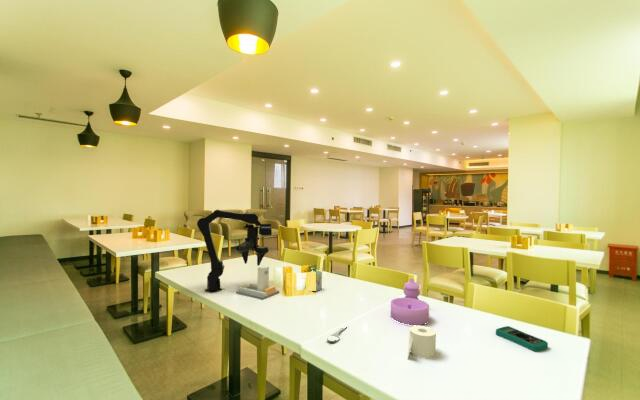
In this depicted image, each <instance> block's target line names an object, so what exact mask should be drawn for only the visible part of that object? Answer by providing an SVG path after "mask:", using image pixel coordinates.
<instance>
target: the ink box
mask: <svg viewBox="0 0 640 400" xmlns="http://www.w3.org/2000/svg"><path fill="white" fill-rule="evenodd" d="M312 270H313V271H315V272H316V292H319V291H320V290H321V291H322V289H323V285H322V284H323V271H320V270H317V264H313V265H312V264H311V265H310V266H308V273H309V272H310V271H312ZM318 290H319V291H318Z"/></svg>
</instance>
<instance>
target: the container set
mask: <svg viewBox="0 0 640 400" xmlns="http://www.w3.org/2000/svg"><path fill="white" fill-rule="evenodd" d="M403 286H404V288H403V294H404V295H405V297H396V298H393V299H392V300H390V318H391V317H392V318H393V319H394V320H396V321H398V322H400V323H404V324H409V325H422V324H425V323H427V322H428V321H429V320H430V319H429V314H430V312H429V310H430V309H429V307H430V305H429V304H428V303H427V302H426V301H424V300H421V299H419V296H420V294H421V290H420V284H419V283H417V282H415V279H414V278H409V281H407V282H405V283H404V284H403ZM400 323H399V324H400ZM428 323H429V322H428ZM428 323H427V324H428ZM425 325H426V324H425ZM422 326H423V325H422Z"/></svg>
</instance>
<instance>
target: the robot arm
mask: <svg viewBox="0 0 640 400" xmlns="http://www.w3.org/2000/svg"><path fill="white" fill-rule="evenodd" d="M218 218H222V219H228V220H236V221H242V222H244V223H245V225H244V226H243V228H244V229H246V237H245V239H244V241H243V242H241V243H240V244H238V245H237V246H236V249H235V250H236V251H238V253H239V254H240V255H241V256H242V260H243V262H244V264H247V263H248V258H249V253H250V251H253V252H256V253H255V255H256V265H257V266H258V267H260V265H261V263H262V261H263V259H264V257H265V255H267V254H268V253H269V247H267V246H260V244H258V243H259V242H258V241H259V240H260V237H258V236H259V235H260V236H261V237H269V236H270V237H271V236H272V223H261V221H259V217H258V215H257V214H256V213H255V212H244V213H243V212H241V213H240V212H235V211H227V210H220V209H216V210H214V211H213V212H211V213H210V214H208V215H207V216H205V217H201V218H199V219H198V220H197V221H196V224H197V225H196V226H197V227H198V230H199V231H200V233H201V235H202V236H203V240H204V243H205V246H206V249H207V253H208V256H209V259H210V270H211V271H210V272H208V273H207V277H206V279H207V280H206V281H207V282H206V289H204V291H205V292H208V293H213V294H214V293H216V292H219V291H222V290H223V288H221V279H220V277H221V276H222V275H223V273H224V269H225V265H224V263H223V262H224V259H221V260H220V259H219V257H218V254H217V253H218V252H217V250H216V246H215V243H214V240H213V235H212V232H211V231H212V229H211V223H212V222H213V221H215V220H216V219H218Z"/></svg>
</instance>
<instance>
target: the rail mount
mask: <svg viewBox="0 0 640 400" xmlns="http://www.w3.org/2000/svg"><path fill="white" fill-rule="evenodd" d="M257 287H258V284H255V283H249V287H248V286H247V287H242V286H240V287H238V290H236V291H235V293H236V294H237V295H242V296H246V297H250V298H254V299H258V300H262V301H263V300H266V299H267V298H270V297H273V296H275V295H277V294H279V293H280V290H278V288H277V287H276V286H274V285H273V286H270V287H269V288H267V289H265V292H260V291H257Z"/></svg>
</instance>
